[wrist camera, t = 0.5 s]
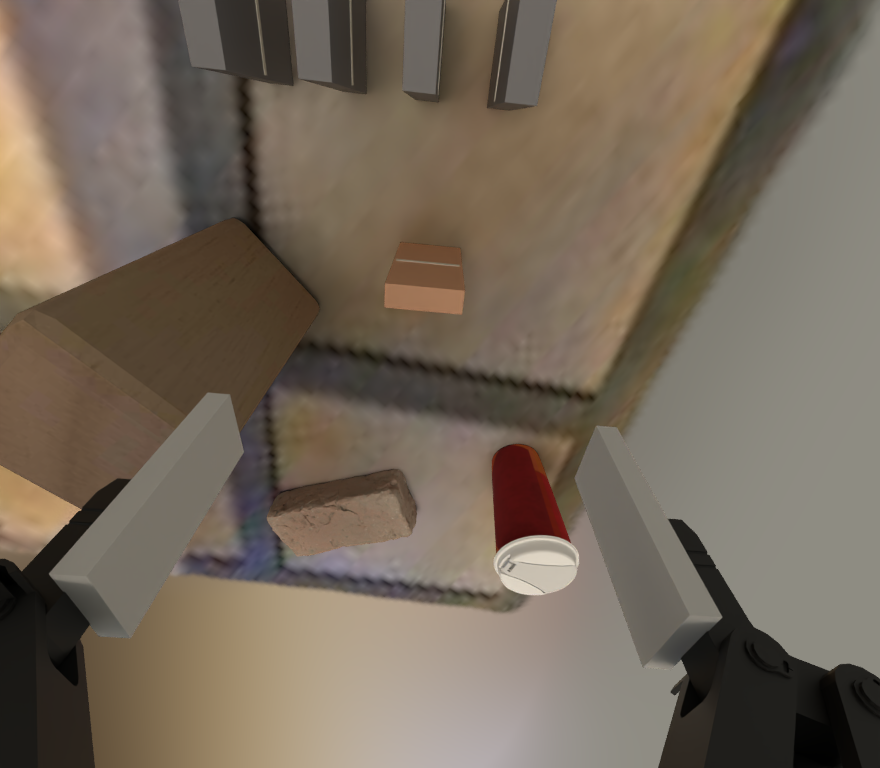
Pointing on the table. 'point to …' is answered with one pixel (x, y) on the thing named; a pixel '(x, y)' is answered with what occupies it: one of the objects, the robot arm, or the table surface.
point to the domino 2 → (331, 43)
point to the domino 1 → (239, 38)
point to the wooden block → (144, 357)
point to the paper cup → (529, 526)
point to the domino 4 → (520, 53)
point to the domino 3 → (423, 48)
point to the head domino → (426, 279)
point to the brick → (344, 513)
